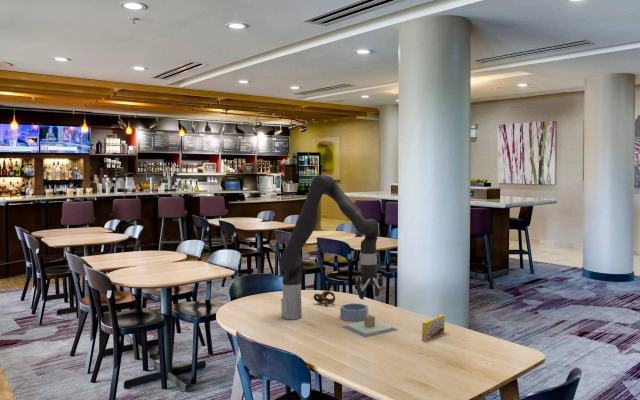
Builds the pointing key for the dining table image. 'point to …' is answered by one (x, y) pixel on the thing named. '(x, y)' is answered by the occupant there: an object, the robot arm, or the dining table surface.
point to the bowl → (353, 312)
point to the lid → (369, 326)
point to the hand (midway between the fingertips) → (369, 297)
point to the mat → (370, 334)
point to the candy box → (433, 327)
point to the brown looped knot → (323, 298)
